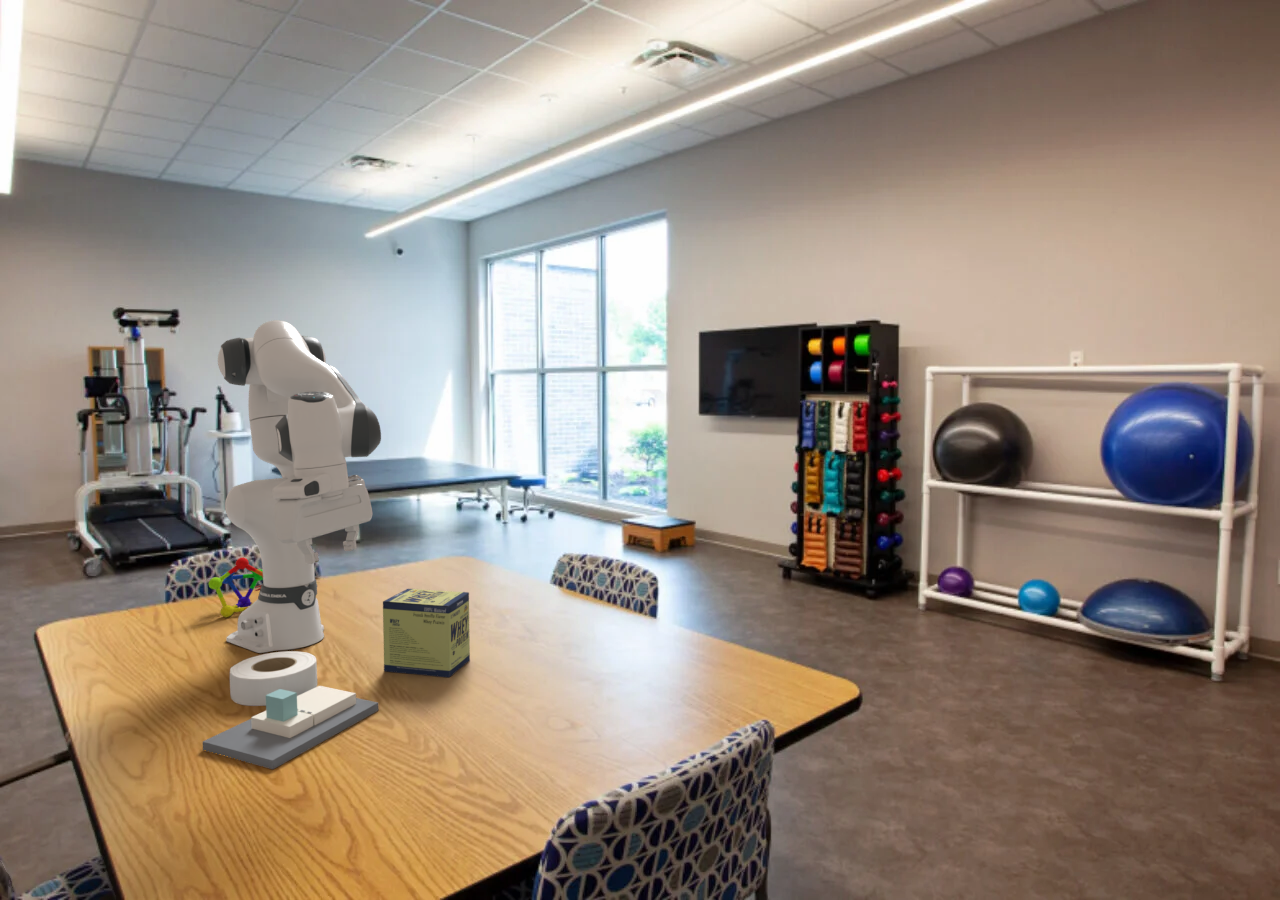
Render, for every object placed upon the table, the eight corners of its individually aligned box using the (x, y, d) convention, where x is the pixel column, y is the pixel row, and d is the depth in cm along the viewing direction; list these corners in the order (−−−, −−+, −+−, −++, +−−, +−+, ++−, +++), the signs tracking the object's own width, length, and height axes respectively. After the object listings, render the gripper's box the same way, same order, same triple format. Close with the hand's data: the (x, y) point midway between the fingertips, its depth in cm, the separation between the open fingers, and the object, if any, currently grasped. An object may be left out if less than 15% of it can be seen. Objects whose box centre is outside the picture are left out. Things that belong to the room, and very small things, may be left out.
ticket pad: (276, 716, 139) (276, 705, 138) (319, 695, 148) (319, 685, 148) (314, 725, 135) (314, 713, 135) (356, 703, 144) (355, 692, 144)
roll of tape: (233, 682, 159) (232, 656, 158) (316, 671, 165) (316, 645, 164) (226, 712, 144) (225, 684, 144) (317, 699, 150) (316, 671, 150)
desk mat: (202, 750, 129) (202, 741, 129) (314, 696, 151) (314, 688, 151) (272, 769, 123) (272, 760, 123) (378, 710, 145) (378, 702, 145)
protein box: (450, 678, 161) (449, 605, 159) (382, 672, 164) (380, 600, 162) (471, 660, 171) (470, 591, 170) (407, 654, 174) (405, 587, 173)
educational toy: (264, 604, 216) (267, 551, 215) (275, 616, 205) (278, 560, 205) (201, 609, 206) (204, 553, 205) (209, 621, 196) (213, 563, 195)
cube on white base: (251, 728, 134) (250, 695, 133) (275, 716, 138) (274, 684, 138) (290, 738, 130) (288, 703, 130) (313, 725, 135) (312, 692, 134)
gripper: (349, 473, 150) (358, 543, 151) (263, 491, 131) (274, 570, 132) (375, 472, 148) (384, 543, 149) (292, 490, 129) (302, 571, 130)
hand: (332, 556), depth 141 cm, fingers open, 8 cm apart
